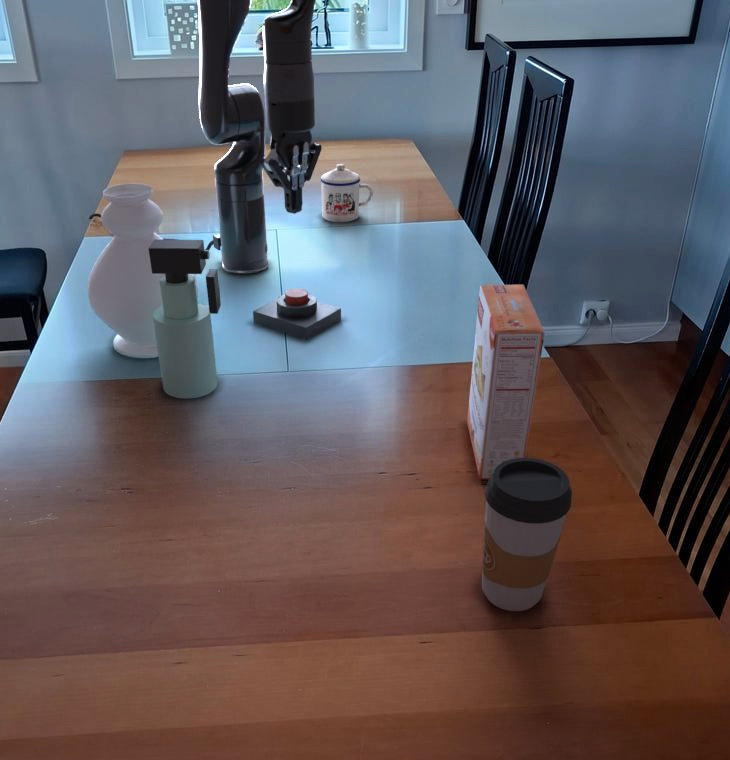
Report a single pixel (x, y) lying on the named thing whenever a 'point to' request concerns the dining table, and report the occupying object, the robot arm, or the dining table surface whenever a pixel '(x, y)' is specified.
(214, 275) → the trigger
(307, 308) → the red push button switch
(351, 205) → the teacup with lid
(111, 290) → the decorative vase
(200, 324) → the spray bottle
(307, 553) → the dining table surface
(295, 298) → the button
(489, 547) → the coffee cup
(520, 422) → the cracker box
